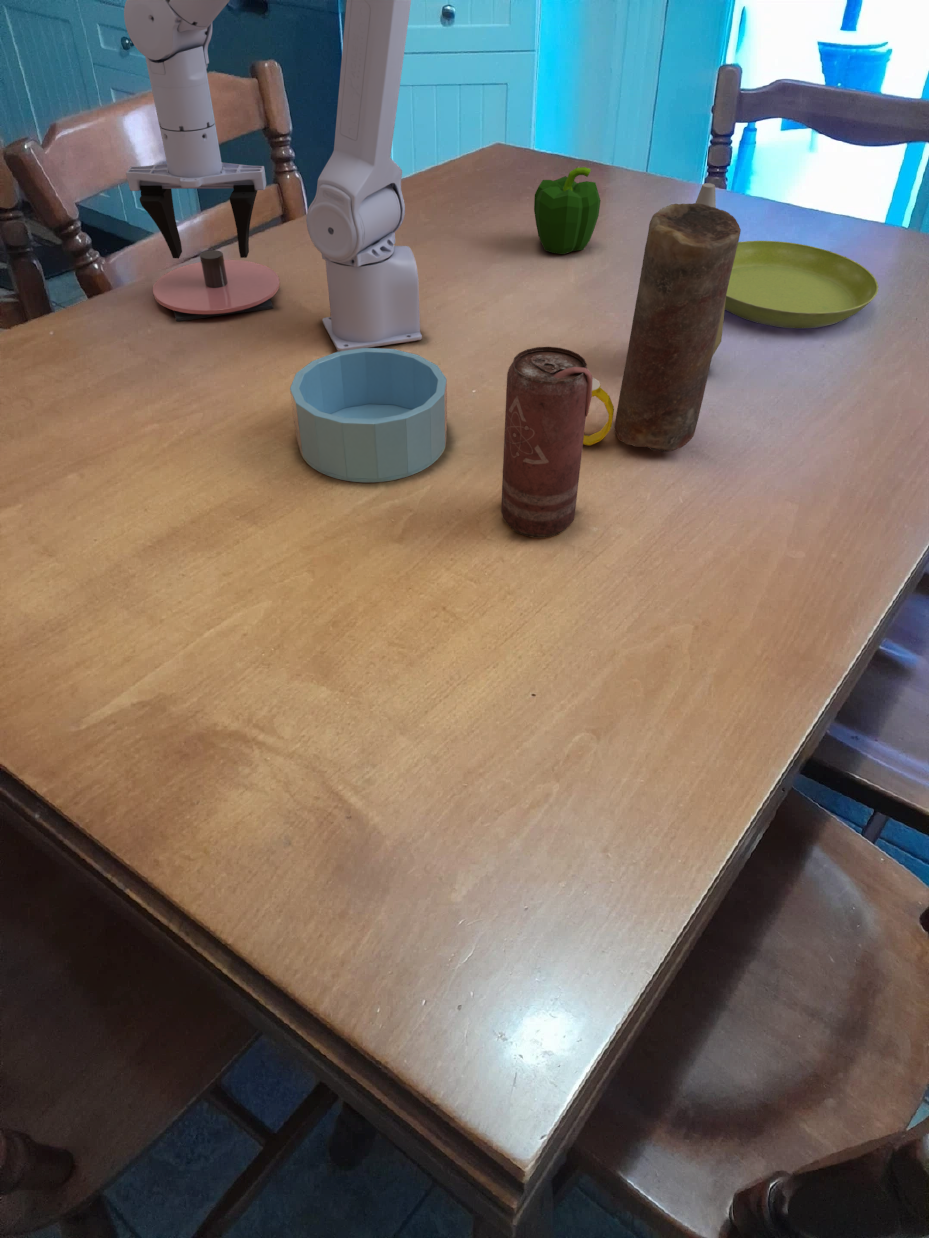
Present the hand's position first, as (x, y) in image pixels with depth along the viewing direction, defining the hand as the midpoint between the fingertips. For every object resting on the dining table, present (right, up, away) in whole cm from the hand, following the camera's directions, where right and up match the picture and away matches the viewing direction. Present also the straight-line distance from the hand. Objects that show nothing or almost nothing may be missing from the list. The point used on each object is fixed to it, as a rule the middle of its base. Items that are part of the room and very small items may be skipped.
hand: (211, 255), depth 104 cm
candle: (+47, -25, -19) cm, 57 cm away
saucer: (+67, -4, +4) cm, 67 cm away
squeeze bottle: (+51, -16, -9) cm, 54 cm away
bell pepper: (+42, +7, +15) cm, 45 cm away
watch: (+40, -25, -20) cm, 51 cm away
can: (+35, -34, -28) cm, 56 cm away
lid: (0, -3, +3) cm, 4 cm away
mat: (0, -4, +3) cm, 5 cm away
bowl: (+21, -25, -20) cm, 38 cm away
